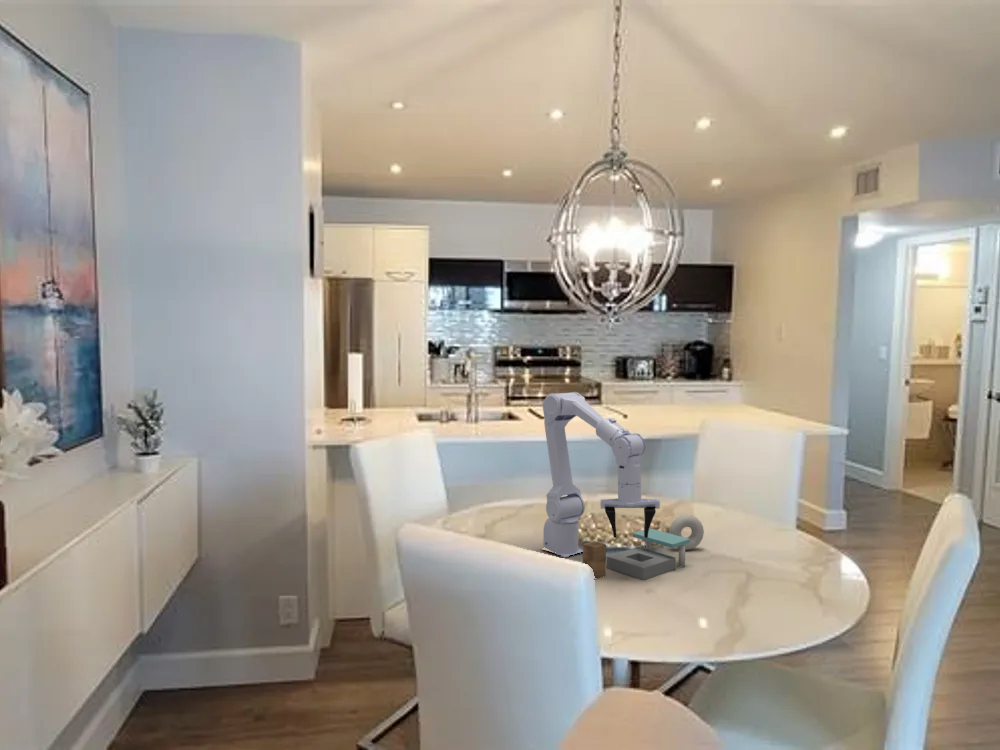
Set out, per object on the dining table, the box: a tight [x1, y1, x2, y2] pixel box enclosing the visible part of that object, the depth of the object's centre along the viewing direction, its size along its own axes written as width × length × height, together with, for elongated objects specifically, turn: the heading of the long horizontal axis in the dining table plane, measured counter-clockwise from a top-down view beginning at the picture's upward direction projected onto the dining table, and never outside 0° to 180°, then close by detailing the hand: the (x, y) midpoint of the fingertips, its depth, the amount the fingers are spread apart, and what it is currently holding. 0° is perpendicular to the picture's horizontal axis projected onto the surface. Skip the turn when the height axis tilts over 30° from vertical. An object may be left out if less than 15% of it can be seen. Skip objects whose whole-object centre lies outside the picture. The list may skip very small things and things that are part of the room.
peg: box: [582, 540, 607, 580], centre depth 187 cm, size 4×4×8 cm
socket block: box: [606, 546, 676, 581], centre depth 193 cm, size 12×13×3 cm
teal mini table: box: [632, 527, 690, 568], centre depth 198 cm, size 13×8×7 cm, turn 41°
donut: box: [668, 514, 705, 551], centre depth 209 cm, size 10×4×10 cm, turn 97°
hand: (630, 536), depth 187 cm, fingers open, 7 cm apart
